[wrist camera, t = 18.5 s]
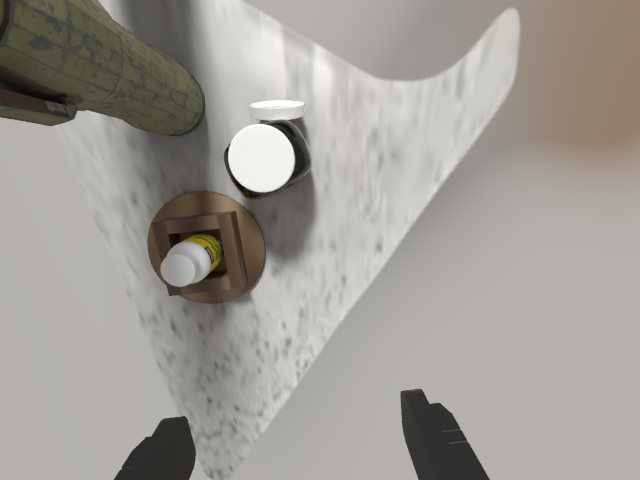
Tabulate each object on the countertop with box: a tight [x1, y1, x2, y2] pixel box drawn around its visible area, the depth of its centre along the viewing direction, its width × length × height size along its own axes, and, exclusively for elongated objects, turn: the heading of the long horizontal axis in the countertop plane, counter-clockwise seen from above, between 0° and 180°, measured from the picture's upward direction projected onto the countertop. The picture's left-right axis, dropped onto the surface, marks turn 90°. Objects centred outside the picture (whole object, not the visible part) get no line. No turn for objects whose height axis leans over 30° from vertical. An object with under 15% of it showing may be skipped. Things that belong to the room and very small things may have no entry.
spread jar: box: [224, 101, 312, 199], centre depth 35 cm, size 12×11×12 cm
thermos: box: [0, 0, 205, 136], centre depth 22 cm, size 9×12×35 cm
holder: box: [147, 192, 265, 303], centre depth 42 cm, size 17×17×4 cm
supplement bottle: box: [161, 232, 224, 287], centre depth 39 cm, size 5×5×10 cm
